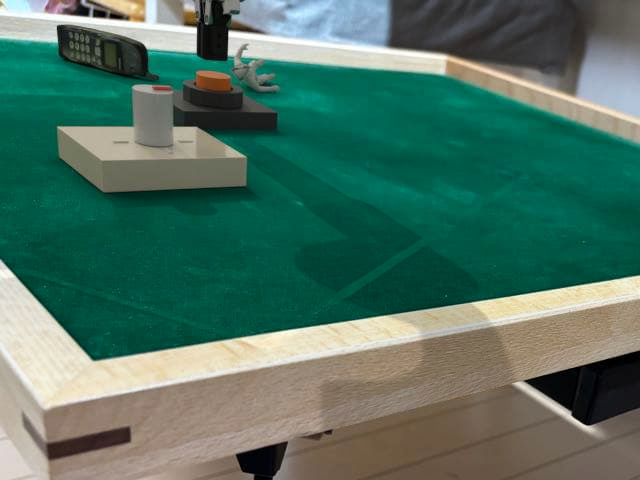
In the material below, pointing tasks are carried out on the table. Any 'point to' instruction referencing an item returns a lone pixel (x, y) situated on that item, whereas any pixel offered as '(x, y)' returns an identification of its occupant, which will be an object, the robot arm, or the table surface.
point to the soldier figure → (251, 73)
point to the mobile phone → (103, 50)
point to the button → (213, 81)
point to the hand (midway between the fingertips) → (212, 58)
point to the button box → (220, 109)
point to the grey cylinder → (153, 115)
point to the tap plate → (150, 160)
